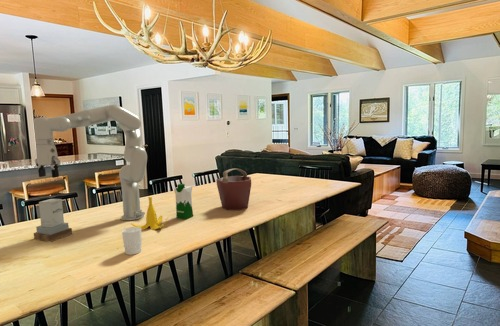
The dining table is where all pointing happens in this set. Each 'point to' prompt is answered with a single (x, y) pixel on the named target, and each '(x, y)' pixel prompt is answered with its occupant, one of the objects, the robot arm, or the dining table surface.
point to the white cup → (132, 240)
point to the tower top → (52, 229)
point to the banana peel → (151, 218)
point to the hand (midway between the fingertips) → (49, 176)
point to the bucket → (234, 190)
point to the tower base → (52, 237)
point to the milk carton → (183, 201)
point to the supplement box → (51, 212)
